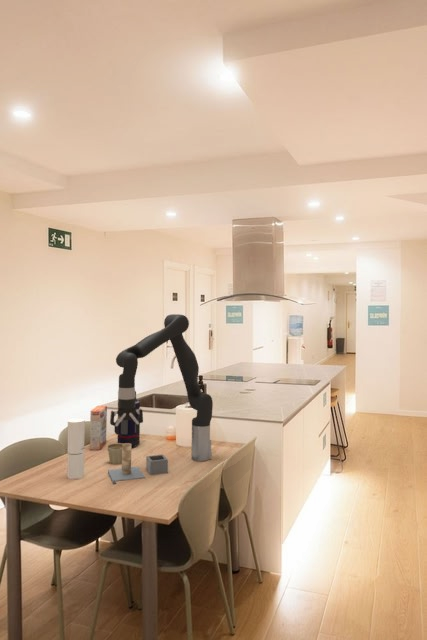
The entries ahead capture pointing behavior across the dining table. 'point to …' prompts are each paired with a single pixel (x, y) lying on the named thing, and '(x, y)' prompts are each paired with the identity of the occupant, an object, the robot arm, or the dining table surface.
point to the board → (118, 476)
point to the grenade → (129, 429)
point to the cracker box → (98, 427)
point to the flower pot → (115, 453)
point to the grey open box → (156, 464)
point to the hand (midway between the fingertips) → (126, 433)
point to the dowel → (126, 458)
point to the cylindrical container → (75, 449)
